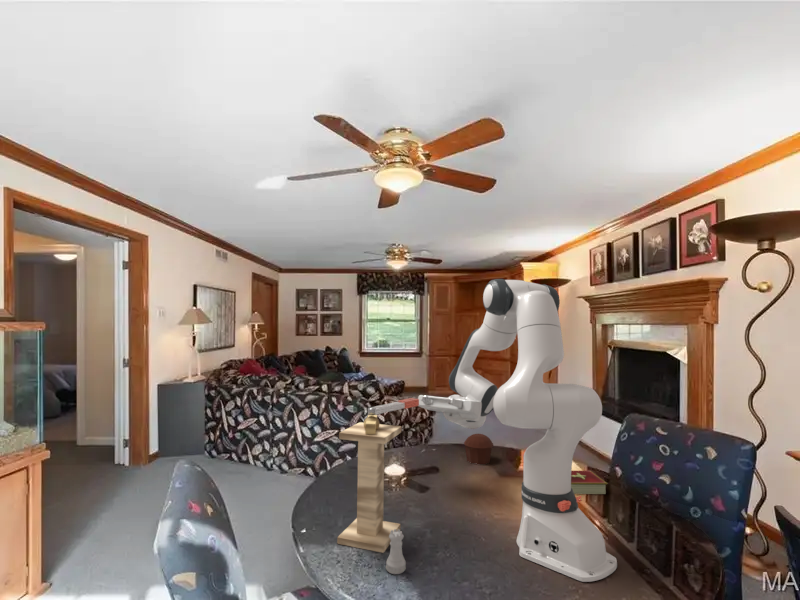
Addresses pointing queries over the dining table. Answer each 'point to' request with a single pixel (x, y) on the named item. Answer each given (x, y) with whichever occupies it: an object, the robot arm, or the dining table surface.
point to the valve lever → (393, 406)
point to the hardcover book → (587, 483)
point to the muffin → (478, 448)
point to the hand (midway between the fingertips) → (436, 399)
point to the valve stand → (369, 486)
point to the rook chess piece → (396, 554)
